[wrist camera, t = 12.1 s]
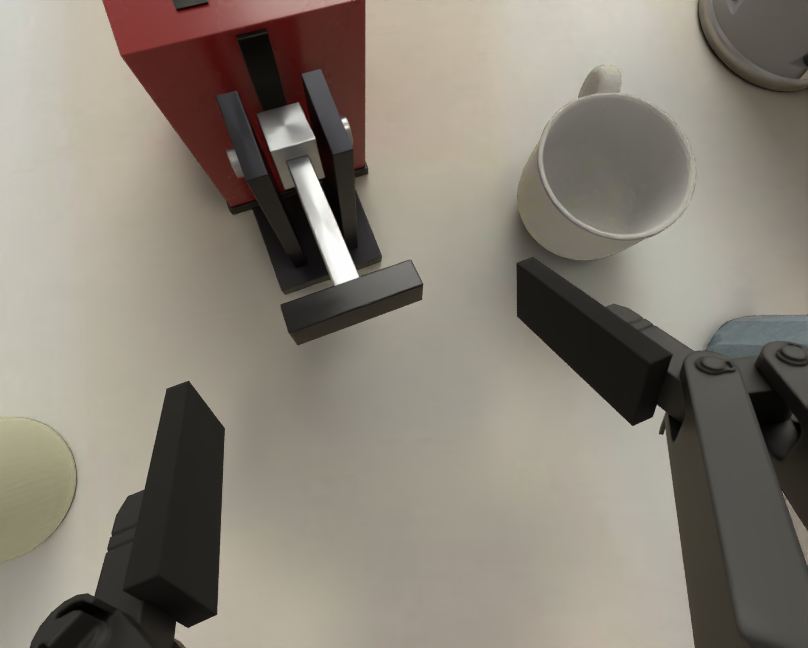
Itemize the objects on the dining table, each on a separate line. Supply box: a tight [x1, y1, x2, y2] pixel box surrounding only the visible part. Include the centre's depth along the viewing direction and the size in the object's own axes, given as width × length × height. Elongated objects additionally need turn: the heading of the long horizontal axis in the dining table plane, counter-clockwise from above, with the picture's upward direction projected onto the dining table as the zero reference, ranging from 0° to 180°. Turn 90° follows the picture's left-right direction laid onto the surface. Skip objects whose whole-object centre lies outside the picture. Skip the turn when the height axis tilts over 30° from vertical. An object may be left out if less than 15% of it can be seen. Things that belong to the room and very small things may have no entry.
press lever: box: [256, 102, 423, 345], centre depth 18 cm, size 12×6×2 cm, turn 21°
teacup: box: [517, 65, 696, 260], centre depth 30 cm, size 14×11×8 cm
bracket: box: [216, 69, 382, 294], centre depth 25 cm, size 7×8×14 cm
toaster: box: [102, 0, 368, 215], centre depth 25 cm, size 12×11×15 cm
